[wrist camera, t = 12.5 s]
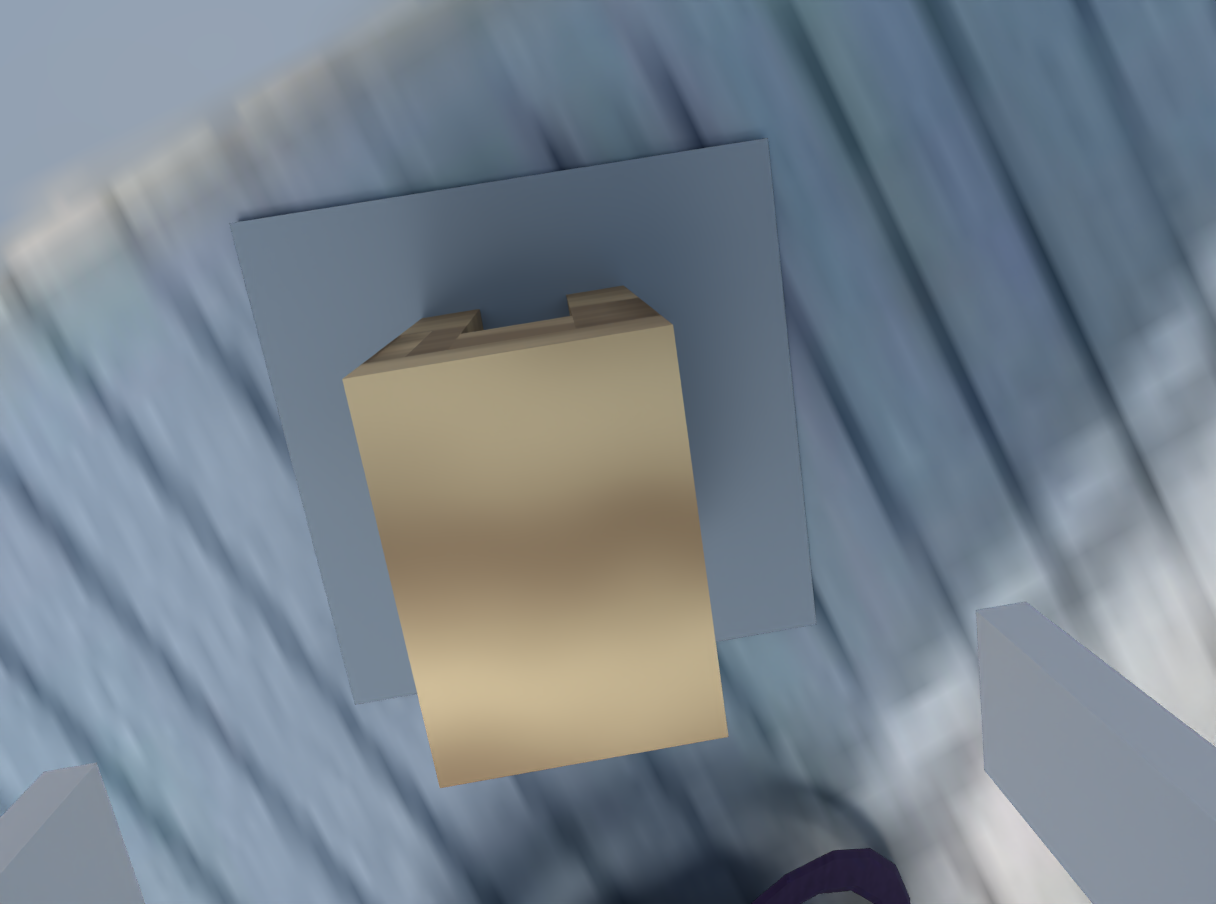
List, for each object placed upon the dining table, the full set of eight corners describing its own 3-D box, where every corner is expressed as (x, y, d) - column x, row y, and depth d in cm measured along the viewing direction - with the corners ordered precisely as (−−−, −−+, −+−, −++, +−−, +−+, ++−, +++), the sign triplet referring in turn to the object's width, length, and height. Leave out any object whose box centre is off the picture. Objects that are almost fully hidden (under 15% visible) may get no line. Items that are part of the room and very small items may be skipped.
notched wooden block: (663, 553, 32) (728, 736, 21) (477, 585, 32) (439, 787, 21) (623, 285, 30) (672, 324, 18) (421, 318, 30) (341, 379, 18)
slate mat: (761, 140, 30) (767, 137, 29) (810, 615, 34) (816, 624, 34) (237, 223, 29) (229, 223, 28) (359, 693, 34) (355, 704, 33)
